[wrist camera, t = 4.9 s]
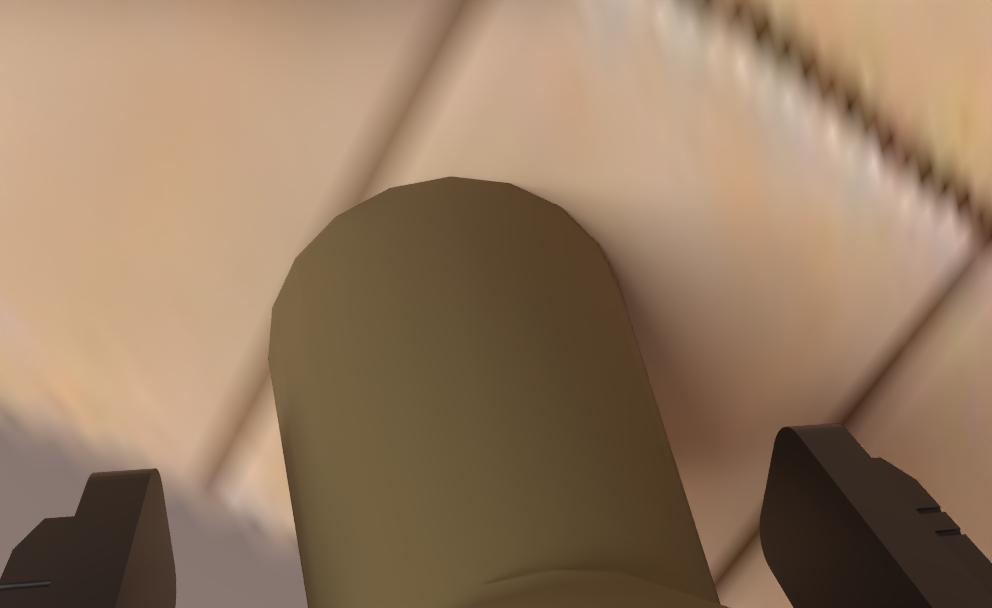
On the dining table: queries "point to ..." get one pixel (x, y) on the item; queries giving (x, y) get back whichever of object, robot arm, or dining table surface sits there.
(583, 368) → the olive pepper mill
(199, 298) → the dining table surface
